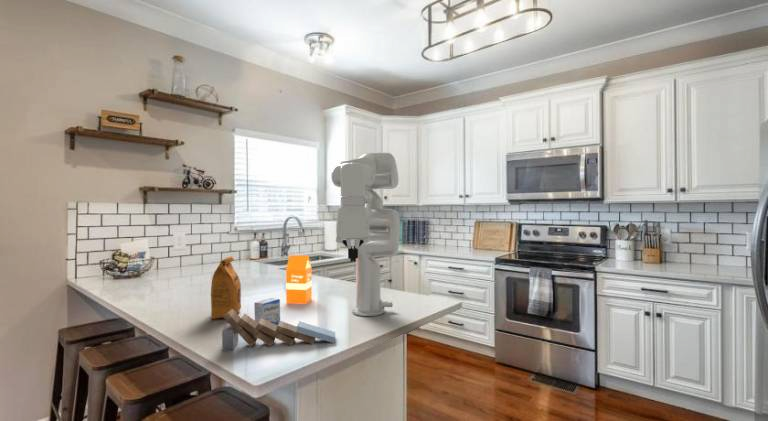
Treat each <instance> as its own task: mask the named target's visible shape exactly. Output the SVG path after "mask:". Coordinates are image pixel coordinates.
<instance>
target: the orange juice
mask: <svg viewBox="0 0 768 421" xmlns="http://www.w3.org/2000/svg"><path fill="white" fill-rule="evenodd" d="M312 269H313V268H312V264H311V260H310V257H309V255H294V254H293V255H292V254H290V255H289V256H288V260H287V265H286V269H285V272H286V273H285V280H286V281H285V282H286V283H285V288H286V290H285V291H286V294H285V295H286V297H285V298H286V299H285V300H286V301H285V302H286V304H300V305H303V304H308V303H309V302H310V301H312V298H313V297H312V296H313V295H312V294H313V292H312V291H313V290H312V289H313V288H312V285H313V284H312V283H313V282H312V272H313V271H312Z"/></svg>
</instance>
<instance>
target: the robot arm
mask: <svg viewBox="0 0 768 421" xmlns="http://www.w3.org/2000/svg"><path fill="white" fill-rule="evenodd" d="M397 166H398V165H397V161H396V159H395V156H394V155H393V154H392V153H390V152H367V153H364V154H362V155H361V156H360V157H357V158H352V159H349V160H348V159H347V160H343V161H339V162H338V163H336V164H334V165H333V168H332V171H331V181H332V183H333V185H334V186H335V187H337V188H340V206H338V208H337V213H336V237H335V242H336V243H339V244H343V245H344V246H345V247H346V248H347V258H348V259H349V260H350V262H355V269H356V270H355V271H356V272H355V273H356V274H355V275H356V277H355V278H356V284H355V285H356V287H355V288H356V289H355V290H356V292H355V293H356V294H355V295H356V297H355V299H356V306H354V307H352V311H351V312H352V313H353V314H354V315H356V316H361V317H375V316H379V315H382V314H384V313H385V308H393V304H394V303H393V301H387V300H386V301H383V300H382V299H381V296H382V295H381V293H382V292H381V287H382V286H381V277H382V276H381V275H382V274H381V265H380V263H379V262H378V260H377V259H376V258H375V257H394V256H396V255H397V254H398V252H399V248H400V229H401V228H400V224H401V219H400V215H399V212H398V211H397V210H395V209H394V208H383V207H384V206H383V205H384V200H383V199H382V197H381V195H379V194H378V193H377V192H376V191H375V190H394V189H396V188H397V186H398V185H399V174H398V173H399V171H398V168H397ZM351 240H353V245H352V243H351V242H352V241H351Z"/></svg>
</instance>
